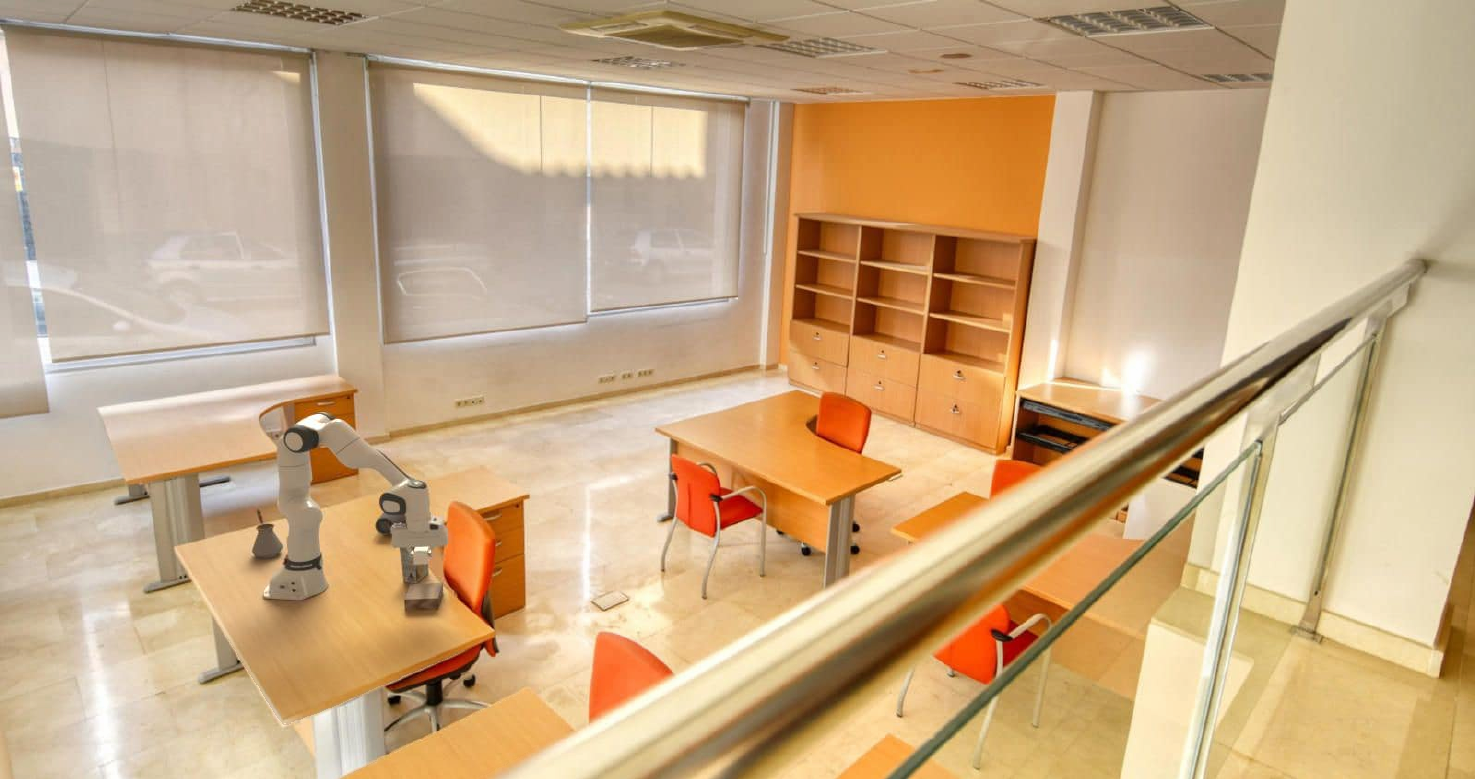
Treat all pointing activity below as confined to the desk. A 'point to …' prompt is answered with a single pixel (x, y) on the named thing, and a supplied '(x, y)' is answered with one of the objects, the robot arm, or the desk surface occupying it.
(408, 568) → the coffee box
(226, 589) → the desk surface
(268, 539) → the coffee pot
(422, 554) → the white cube
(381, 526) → the bluetooth speaker
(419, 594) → the walnut block
